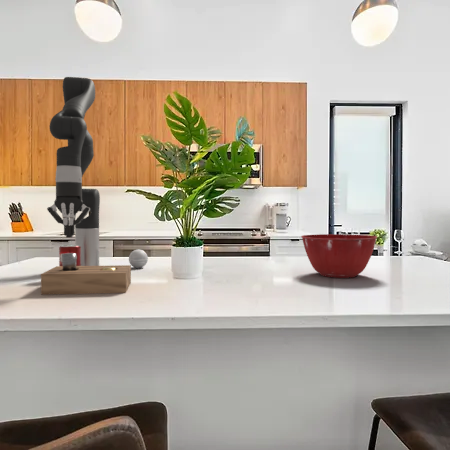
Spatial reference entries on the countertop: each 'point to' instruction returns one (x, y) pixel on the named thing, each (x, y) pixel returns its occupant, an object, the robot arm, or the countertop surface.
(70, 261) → the graphite peg
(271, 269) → the countertop surface
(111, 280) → the socket block
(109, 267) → the brass peg
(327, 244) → the mixing bowl
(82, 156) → the robot arm
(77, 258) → the soda can
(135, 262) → the bath bomb
